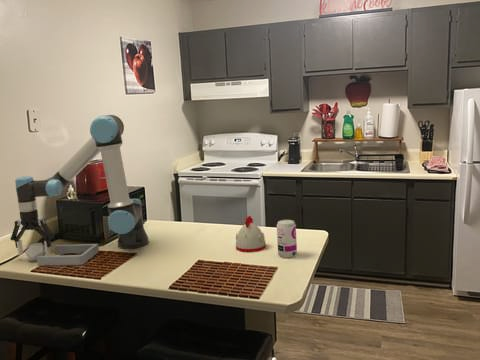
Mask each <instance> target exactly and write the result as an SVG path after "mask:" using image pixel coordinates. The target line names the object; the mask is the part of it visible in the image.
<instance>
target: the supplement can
mask: <svg viewBox="0 0 480 360" xmlns="http://www.w3.org/2000/svg"><path fill="white" fill-rule="evenodd" d="M276 236H277V237H276V239H277V255H278V256H279V257H280V258H283V259H292V258H295V257H296V256H297V255H298V249H297V248H298V246H297V225H296V222H295V220H292V219H281V220H278V221H277V223H276Z"/></svg>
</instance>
